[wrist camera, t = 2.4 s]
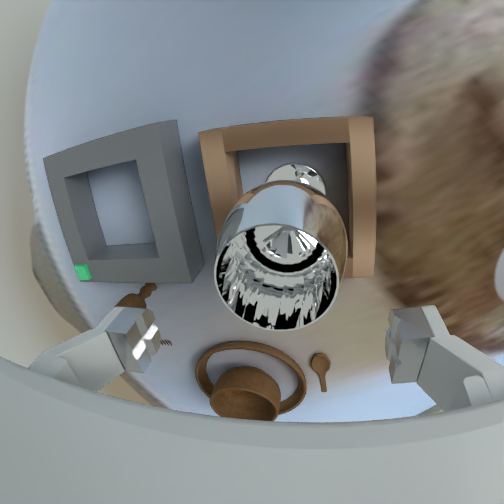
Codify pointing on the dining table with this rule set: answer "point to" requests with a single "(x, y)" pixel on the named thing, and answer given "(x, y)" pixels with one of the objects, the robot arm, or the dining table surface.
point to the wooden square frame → (301, 133)
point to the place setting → (244, 377)
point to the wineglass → (282, 251)
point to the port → (156, 198)
